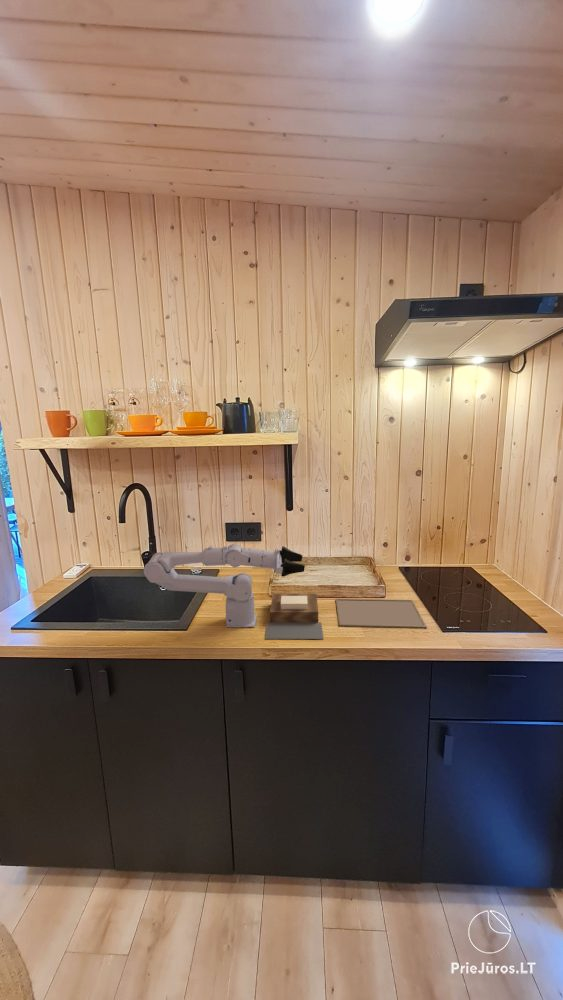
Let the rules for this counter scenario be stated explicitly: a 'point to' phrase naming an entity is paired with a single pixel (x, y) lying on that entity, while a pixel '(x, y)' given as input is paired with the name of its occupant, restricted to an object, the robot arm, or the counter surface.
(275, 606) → the brown wooden flat block
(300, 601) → the beige rectangular block
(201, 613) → the counter surface
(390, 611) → the taupe placemat
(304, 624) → the mat
